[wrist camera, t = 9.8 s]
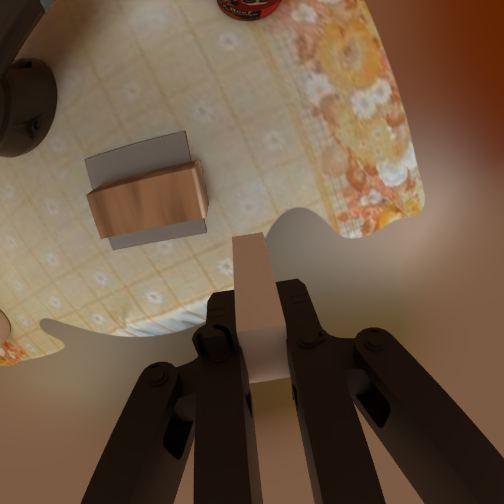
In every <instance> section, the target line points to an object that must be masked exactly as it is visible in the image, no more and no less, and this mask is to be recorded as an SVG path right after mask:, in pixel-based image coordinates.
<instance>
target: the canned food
mask: <svg viewBox="0 0 504 504" xmlns="http://www.w3.org/2000/svg"><path fill="white" fill-rule="evenodd" d="M280 2H281V0H217V3H218V5H219V7H220V8H221V10H222V11H223V12H224V13H226V14H227V15H229V16H231V17H233V18H236V19H240V20H255V19H260V18H263V17H265V16H267V15H269V14H271V13H272V12H273V11H274V10H275V9H276V8H277V7H278V5H279V3H280Z"/></svg>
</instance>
